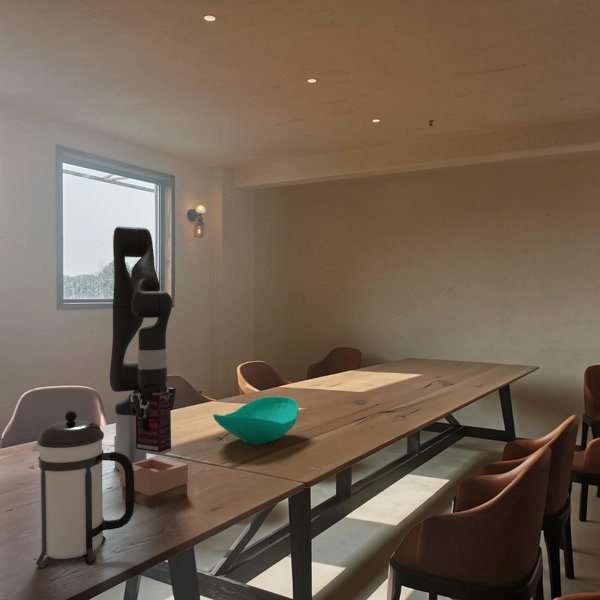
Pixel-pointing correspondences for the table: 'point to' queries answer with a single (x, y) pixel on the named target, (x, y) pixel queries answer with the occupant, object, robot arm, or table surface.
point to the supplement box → (156, 426)
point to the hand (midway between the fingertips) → (153, 429)
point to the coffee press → (76, 490)
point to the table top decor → (261, 419)
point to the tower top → (157, 475)
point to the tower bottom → (158, 496)
